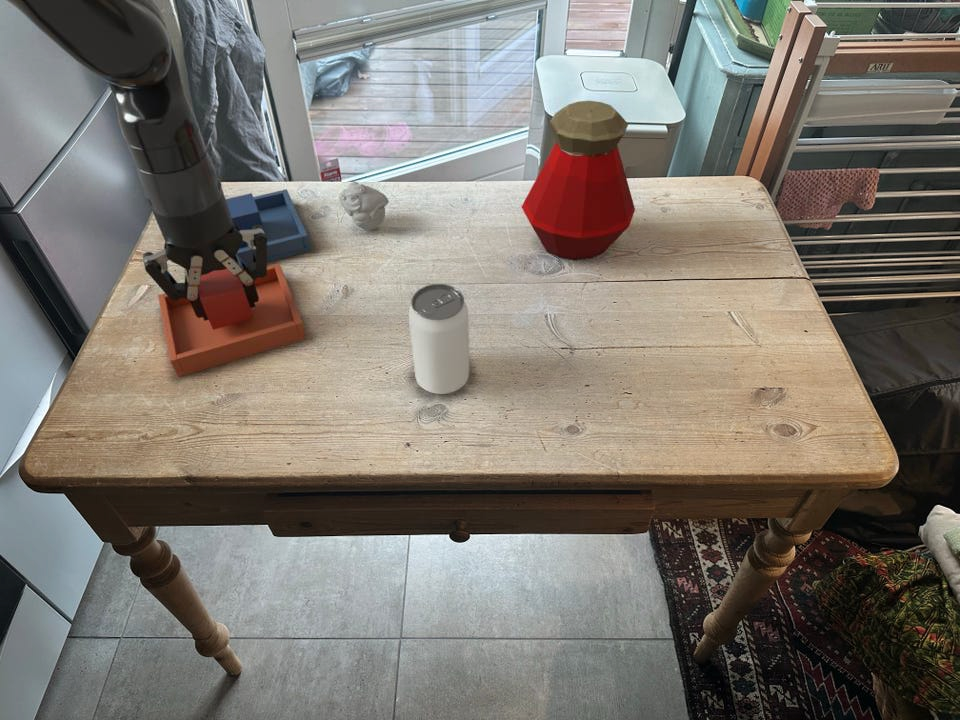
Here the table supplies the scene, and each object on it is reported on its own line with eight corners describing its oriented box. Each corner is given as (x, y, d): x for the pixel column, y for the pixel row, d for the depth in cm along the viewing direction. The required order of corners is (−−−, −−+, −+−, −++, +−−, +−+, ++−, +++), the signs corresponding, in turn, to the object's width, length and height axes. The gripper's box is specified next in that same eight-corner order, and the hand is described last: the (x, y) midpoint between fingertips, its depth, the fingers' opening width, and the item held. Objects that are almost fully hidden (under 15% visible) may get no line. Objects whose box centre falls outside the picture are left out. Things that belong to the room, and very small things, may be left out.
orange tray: (178, 377, 80) (170, 361, 78) (165, 310, 88) (157, 294, 86) (306, 338, 85) (302, 322, 83) (283, 278, 93) (279, 262, 90)
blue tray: (199, 280, 92) (193, 264, 90) (186, 229, 100) (180, 213, 98) (311, 251, 97) (307, 235, 95) (290, 204, 104) (286, 188, 102)
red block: (212, 330, 83) (200, 300, 79) (206, 304, 86) (194, 274, 82) (253, 318, 84) (243, 288, 80) (246, 294, 87) (235, 263, 84)
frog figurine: (345, 215, 102) (338, 175, 97) (391, 213, 103) (387, 172, 98) (343, 240, 98) (335, 199, 93) (391, 237, 99) (386, 196, 94)
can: (404, 374, 81) (394, 299, 72) (445, 347, 84) (441, 272, 75) (438, 405, 77) (433, 331, 69) (480, 376, 80) (480, 302, 72)
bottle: (519, 271, 94) (526, 138, 79) (519, 214, 103) (526, 85, 88) (633, 274, 93) (662, 141, 78) (623, 216, 102) (647, 87, 88)
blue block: (232, 249, 96) (222, 220, 92) (225, 230, 99) (215, 201, 95) (267, 240, 97) (258, 211, 93) (260, 221, 100) (251, 192, 96)
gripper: (246, 161, 76) (279, 276, 89) (111, 191, 73) (165, 307, 85) (259, 195, 72) (292, 312, 84) (117, 229, 68) (173, 346, 80)
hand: (228, 309), depth 85 cm, fingers closed on red block, 5 cm apart
